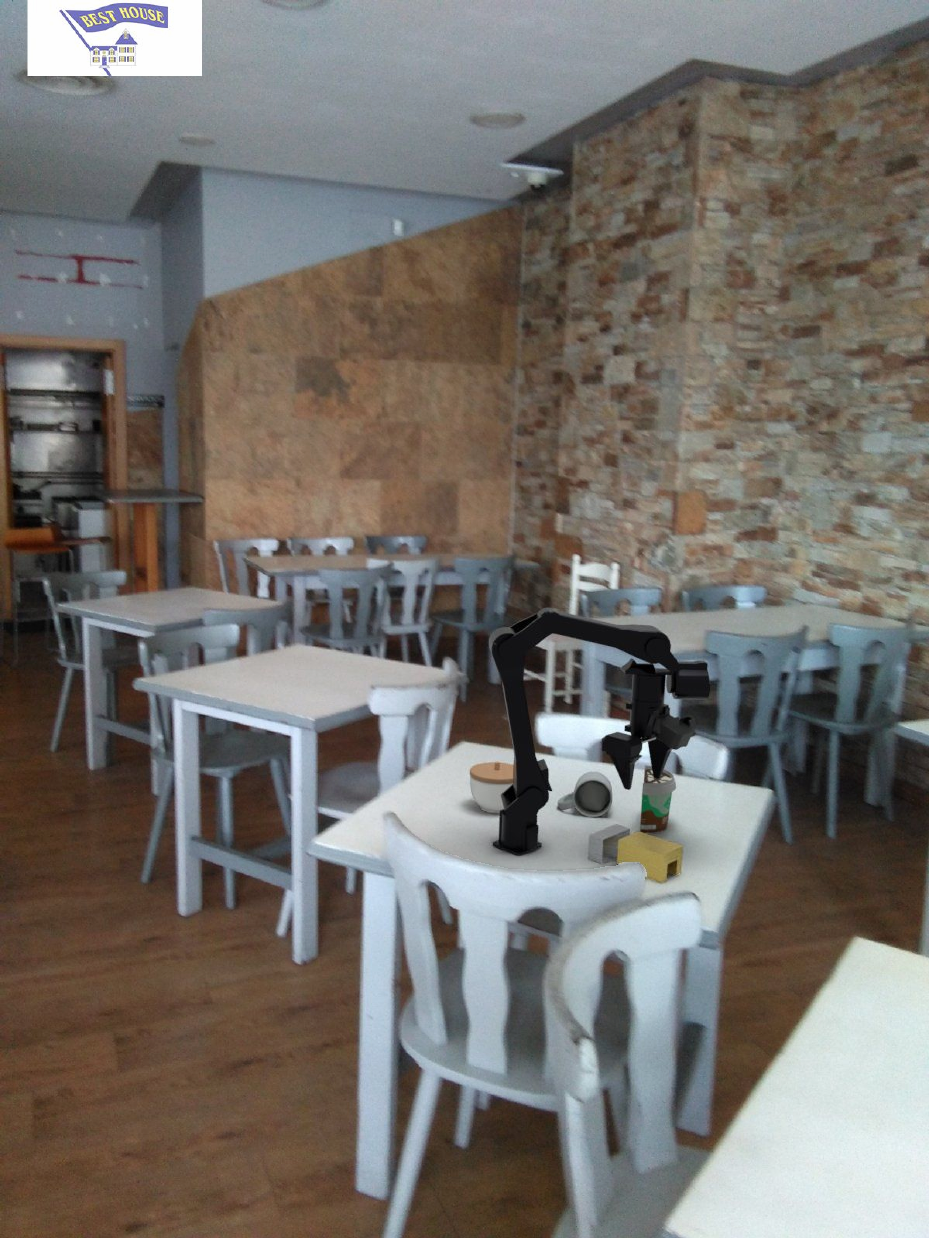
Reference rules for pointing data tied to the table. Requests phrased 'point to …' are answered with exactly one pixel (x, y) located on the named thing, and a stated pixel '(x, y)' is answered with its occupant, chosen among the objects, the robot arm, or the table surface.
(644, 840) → the block
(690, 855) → the table surface
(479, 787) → the lidded jar
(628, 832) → the rail
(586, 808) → the ceramic mug
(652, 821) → the food container
